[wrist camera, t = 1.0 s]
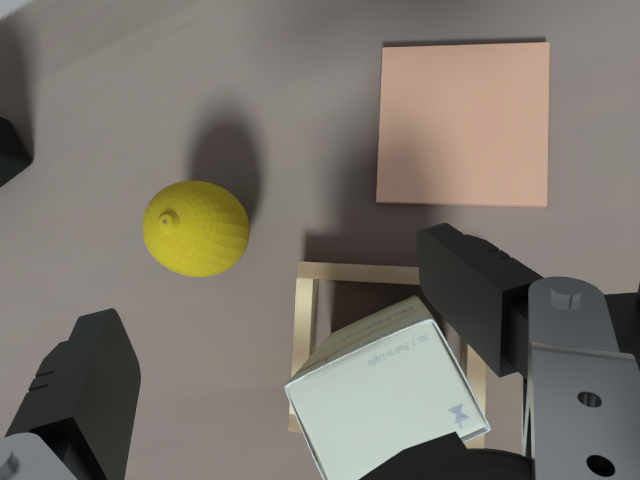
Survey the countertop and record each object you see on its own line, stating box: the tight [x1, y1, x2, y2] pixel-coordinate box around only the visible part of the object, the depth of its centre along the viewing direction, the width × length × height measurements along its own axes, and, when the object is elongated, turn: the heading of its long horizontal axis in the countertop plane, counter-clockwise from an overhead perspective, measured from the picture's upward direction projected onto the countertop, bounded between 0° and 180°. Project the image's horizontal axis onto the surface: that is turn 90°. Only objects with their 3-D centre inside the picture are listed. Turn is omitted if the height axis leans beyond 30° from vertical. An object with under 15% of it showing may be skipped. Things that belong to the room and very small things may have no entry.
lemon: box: [142, 181, 250, 277], centre depth 25 cm, size 6×6×8 cm
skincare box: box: [285, 295, 491, 480], centre depth 21 cm, size 6×4×12 cm
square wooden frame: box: [288, 261, 486, 449], centre depth 26 cm, size 10×11×2 cm
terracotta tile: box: [376, 42, 549, 207], centre depth 27 cm, size 10×10×1 cm
